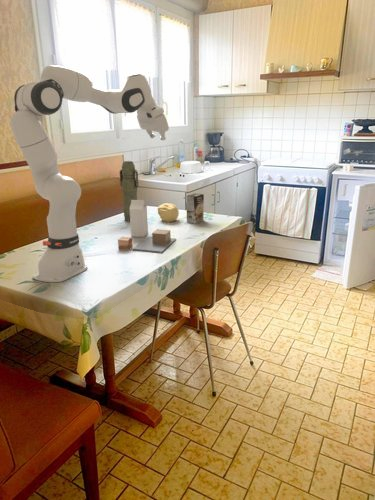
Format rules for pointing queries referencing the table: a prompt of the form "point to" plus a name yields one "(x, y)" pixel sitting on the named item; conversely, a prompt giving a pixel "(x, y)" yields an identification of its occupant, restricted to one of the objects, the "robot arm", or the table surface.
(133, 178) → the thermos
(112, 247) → the table surface
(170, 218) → the sculpture
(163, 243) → the building board
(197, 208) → the coffee box
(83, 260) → the robot arm
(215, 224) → the table surface
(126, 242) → the top block
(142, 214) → the milk carton
